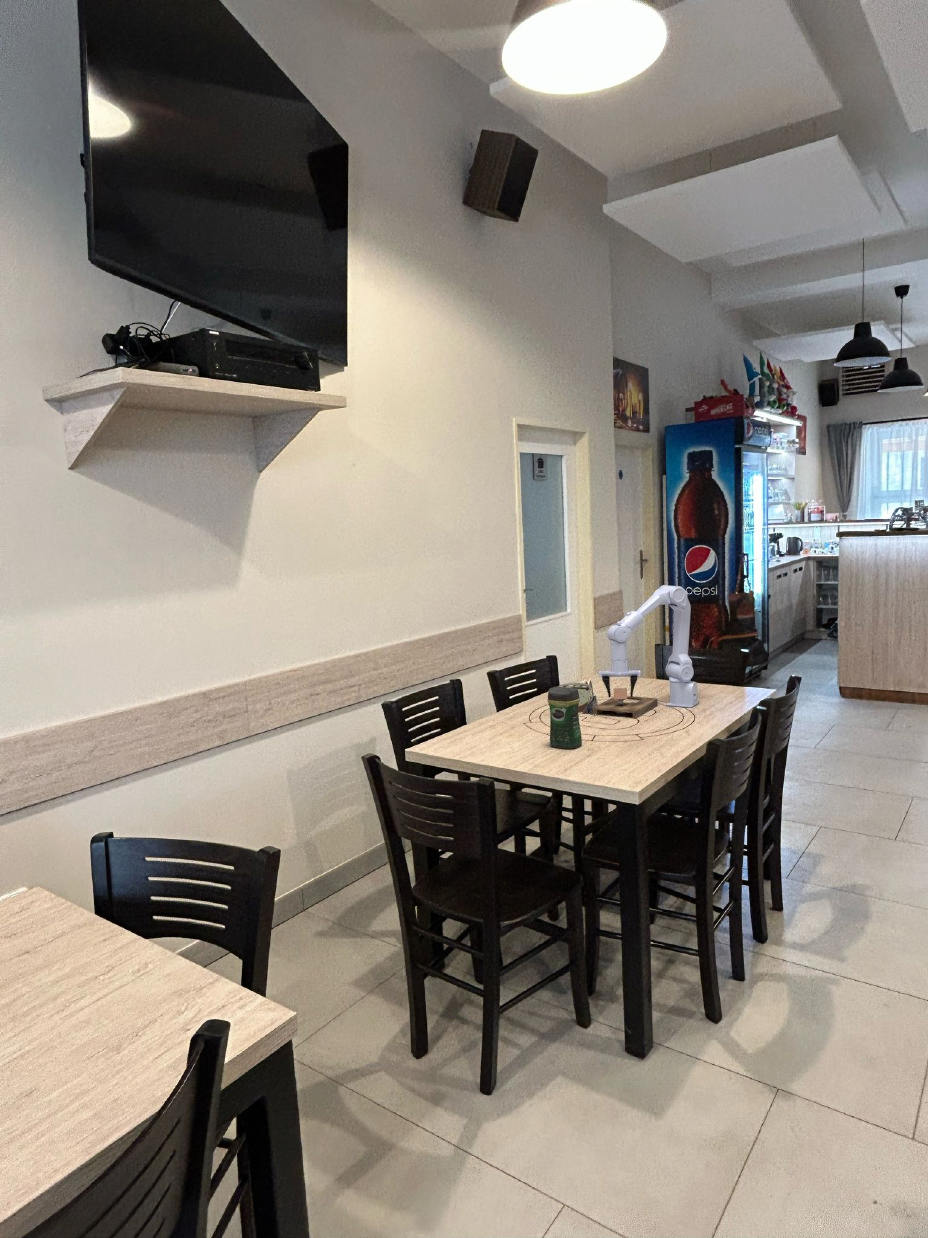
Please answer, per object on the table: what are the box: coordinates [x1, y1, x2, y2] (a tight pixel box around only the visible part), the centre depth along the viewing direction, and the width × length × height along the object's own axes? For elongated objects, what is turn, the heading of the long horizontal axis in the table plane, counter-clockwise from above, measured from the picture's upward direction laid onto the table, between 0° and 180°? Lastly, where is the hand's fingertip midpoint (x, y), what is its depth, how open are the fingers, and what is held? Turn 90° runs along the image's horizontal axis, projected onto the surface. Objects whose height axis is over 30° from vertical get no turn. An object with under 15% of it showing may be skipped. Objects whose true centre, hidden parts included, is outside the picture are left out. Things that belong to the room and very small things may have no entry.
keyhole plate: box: [592, 695, 659, 719], centre depth 287 cm, size 16×20×3 cm
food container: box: [557, 682, 592, 714], centre depth 291 cm, size 12×6×10 cm, turn 84°
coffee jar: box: [547, 686, 583, 749], centre depth 246 cm, size 10×8×19 cm
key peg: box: [613, 687, 629, 715], centre depth 284 cm, size 5×5×8 cm
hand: (620, 696), depth 283 cm, fingers open, 7 cm apart
